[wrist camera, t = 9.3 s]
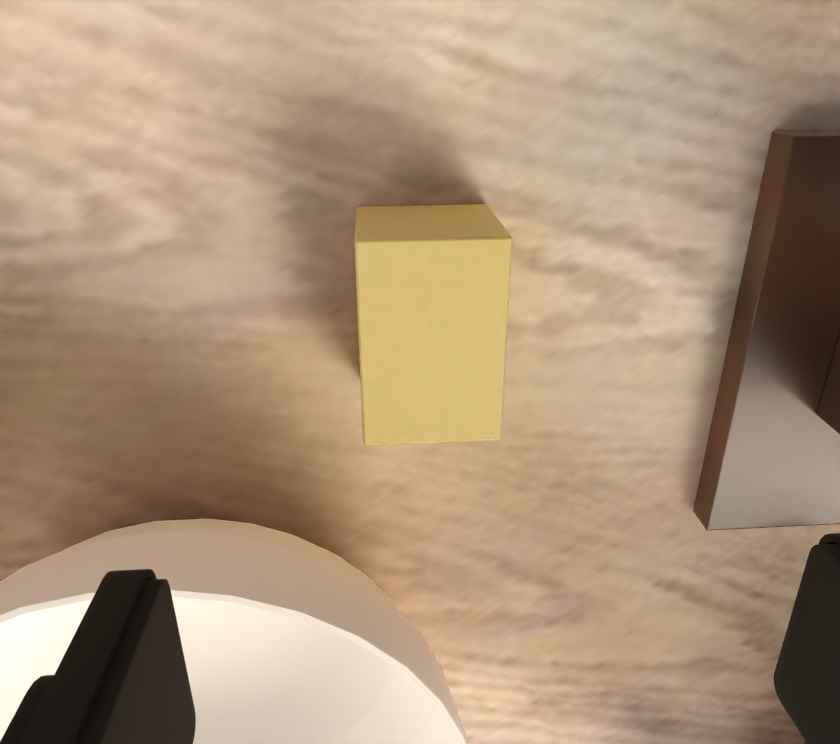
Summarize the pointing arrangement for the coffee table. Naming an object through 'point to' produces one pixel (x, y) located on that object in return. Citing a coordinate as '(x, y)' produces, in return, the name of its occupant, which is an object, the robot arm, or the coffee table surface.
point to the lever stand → (783, 353)
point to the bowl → (245, 635)
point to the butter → (431, 322)
